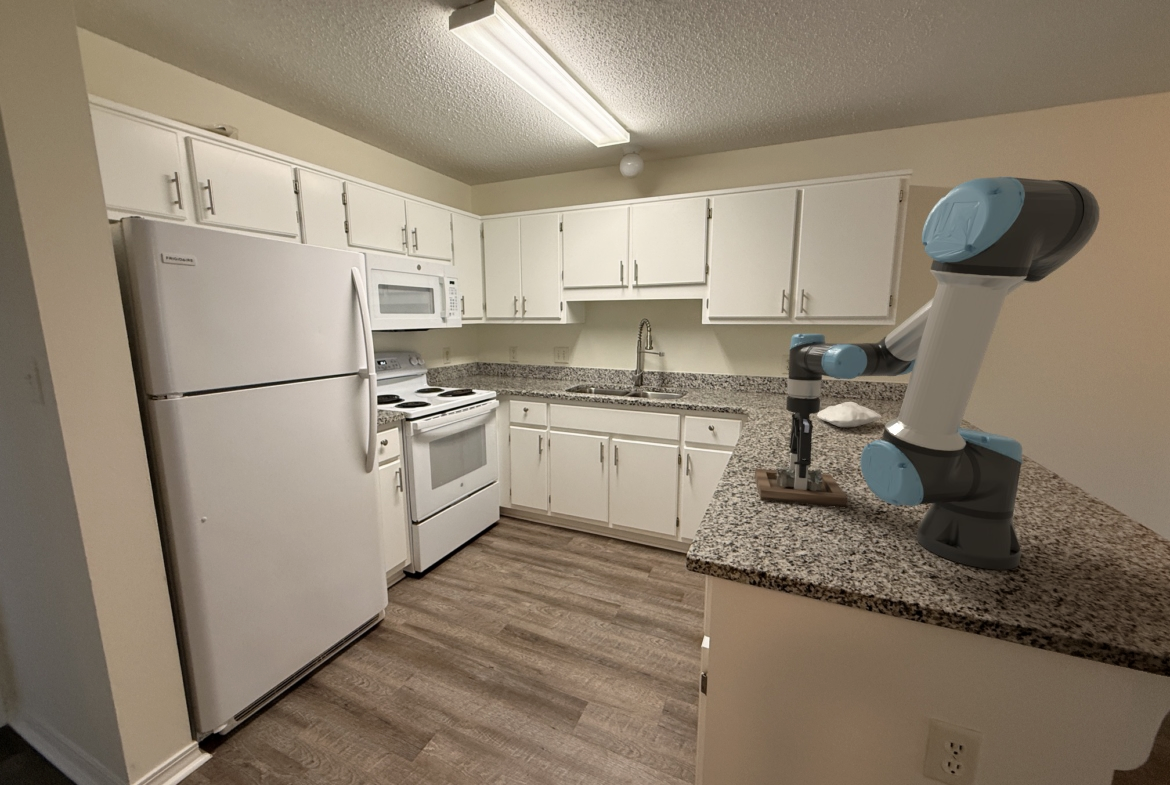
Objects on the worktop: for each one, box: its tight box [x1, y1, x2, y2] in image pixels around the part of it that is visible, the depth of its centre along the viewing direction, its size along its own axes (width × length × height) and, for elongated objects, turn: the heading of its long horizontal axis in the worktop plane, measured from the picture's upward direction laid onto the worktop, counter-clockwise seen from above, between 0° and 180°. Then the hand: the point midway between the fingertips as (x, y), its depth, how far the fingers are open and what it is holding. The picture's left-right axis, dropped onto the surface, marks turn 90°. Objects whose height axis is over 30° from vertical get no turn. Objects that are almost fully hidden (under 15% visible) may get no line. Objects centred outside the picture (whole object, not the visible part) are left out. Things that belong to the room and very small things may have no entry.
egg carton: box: [776, 466, 822, 491], centre depth 116 cm, size 11×8×4 cm
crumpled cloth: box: [816, 401, 882, 428], centre depth 189 cm, size 24×35×9 cm
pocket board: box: [754, 468, 849, 509], centre depth 117 cm, size 17×19×2 cm
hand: (797, 483), depth 116 cm, fingers closed on egg carton, 8 cm apart
